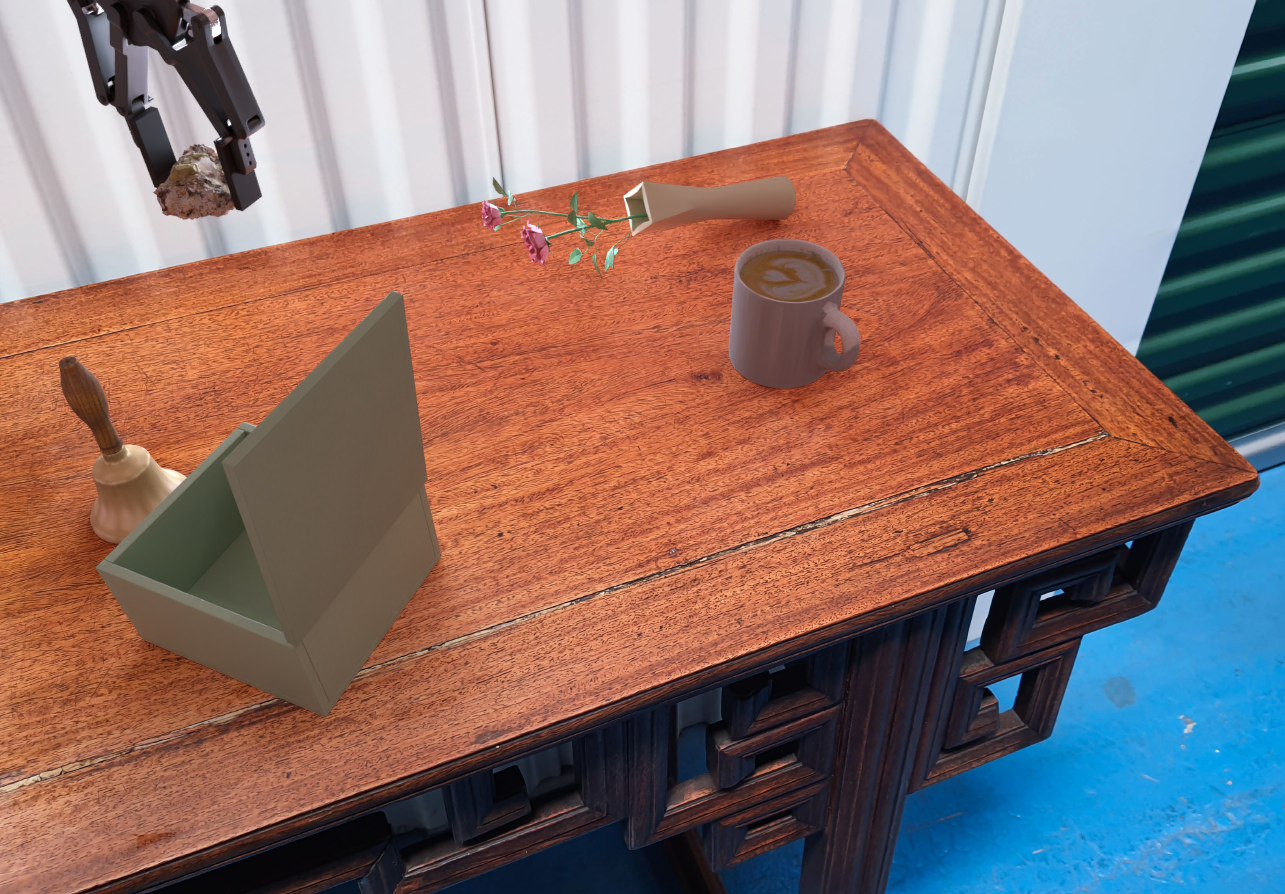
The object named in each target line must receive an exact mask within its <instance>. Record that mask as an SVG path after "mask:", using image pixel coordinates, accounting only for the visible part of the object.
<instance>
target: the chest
mask: <svg viewBox="0 0 1285 894" xmlns="http://www.w3.org/2000/svg"><path fill="white" fill-rule="evenodd" d="M257 426H258V425H255V424H251V423H248V422H245V421H243V422H241V423H240V424H239V425H238V426H237V428H235V429H234V430H233V431H232V432H231V433H230V434H229V435H228V436H227V437H226V438H225V439H224V440H223V441H222V442H221V443H220V444H219V445H218V446H217V447H216V448H215V449H214V450H213V451H212V452H211V453H210V454H209V455H207V457H206V458H205V459H204V460H202V462H201V463H200V464H199V465H197V467H195V468H194V469H193V470H192V472H191V473H190V474H188V475H187V476H186V477H187V478H186V479H185V480H184V481H183V482H182V483H181V484H180V485H179V486H178V487H177V488H176V489H175V490H174V491H173V492H171V493H170V494H169V495H168V496H167V497H166V498H165V499H164V500H163V501H162V502H161V503H160V504H159V505H158V506H157V507H156V508H155V509H154V510H153V511H152V512H151V513H150V514H149V515H148V516H147V517H146V518H145V519H144V520H143V521H142V522H141V523H140V524H139V525H138V526H137V527H136V528H135V529H134V530H133V531H132V532H131V533H130V534H129V535H128V536H127V537H126V538H125V539H124V540H123V541H122V542H121V543H120V544H117V546H115V547H114V549H113V550H112V551H110V553H108V554H107V555H106V556H105V557H104V558H103V560H101V561H100V562H99V563H98V564H97V565H96V566H95V570H96V572H97V573H98V574H99V576H100V578H101V579H102V581H103V582H104V584H105V585H106V587H107V588H108V589H109V591H110V592H111V594H112V596H113V597H114V599H115V600H116V602H117V604H118V605H119V607H120V608H121V609H122V611H123V612H124V614H125V616H126V617H127V618H128V620H129V622H130V624H131V625H132V626H133V628H134V629H135V631H136V632H137V634H138V635H139V636H140V638H141V640H142V641H145V642H148V643H150V644H152V645H155V646H157V647H160V648H161V649H164V650H166V651H168V652H171V653H173V654H176V655H178V656H180V657H183V658H185V659H187V660H189V661H192V662H194V663H197V664H198V665H201V666H204V667H206V668H208V669H211V670H213V671H215V672H217V673H219V674H223V675H225V676H227V677H229V678H232V679H233V680H237V681H239V682H241V683H244V684H245V685H248V686H251V687H253V688H255V689H258V690H259V691H262V692H265V693H266V694H269V695H271V696H274V697H276V698H278V699H281V700H283V701H285V702H288V703H291V704H293V705H295V706H297V707H300V708H302V709H305V710H306V711H309V712H311V713H313V714H316V715H318V716H321V717H322V718H327V717H328V715H329V714H330V712H331V711H332V710H333V709H334V707H335V706H336V704H337V703H338V701H339V700H340V699H341V697H342V696H343V695H344V693H345V691H347V689H348V687H349V686H350V685H351V683H352V682H353V680H354V679H355V678H356V676H357V675H358V674H359V672H360V671H361V669H362V668H363V666H364V665H365V664H366V662H367V661H368V659H369V658H370V657H371V656H372V654H373V653H374V651H375V650H376V648H378V646H379V645H380V643H381V642H382V640H383V639H384V637H385V636H386V634H387V633H388V632H389V630H390V629H391V627H392V626H393V625H394V623H396V621H397V619H398V618H399V617H400V615H401V613H402V612H403V611H404V610H405V608H406V607H407V605H408V604H409V602H410V601H411V600H412V598H413V597H414V596H415V594H416V593H417V591H418V590H419V589H420V587H421V586H422V584H423V583H424V582H425V580H426V579H427V577H428V576H429V575H430V573H431V572H432V571H433V569H434V567H436V565H437V563H438V562H439V561H440V560H441V558H442V551H441V547H440V543H439V538H438V535H437V530H436V527H435V522H434V517H433V513H432V509H431V505H430V502H429V497H428V494H427V489H426V486H425V484H424V485H423V486H422V488H421V489H420V490H419V492H418V493H417V494H416V495H415V497H414V498H413V499H412V501H411V502H410V503H409V504H408V506H407V507H406V508H405V509H404V511H403V512H402V513H401V515H400V516H399V517H398V518H397V520H396V521H395V522H394V523H393V525H392V526H391V527H390V529H389V530H388V531H387V532H386V534H385V535H384V536H383V538H382V539H381V540H380V541H379V543H378V544H377V545H376V546H375V548H374V549H373V550H372V552H371V553H370V554H369V555H368V557H367V558H366V559H365V561H364V562H363V563H362V564H361V566H360V567H359V568H358V569H357V571H356V572H355V573H354V575H353V576H352V577H351V578H350V580H349V581H348V582H347V583H346V585H345V586H344V587H343V589H342V590H341V591H340V592H339V594H338V595H337V596H336V598H335V599H334V600H333V601H332V603H331V604H330V605H329V606H328V608H327V609H326V610H325V612H324V613H323V614H322V615H321V617H320V618H319V619H318V621H317V622H316V623H315V624H314V626H313V627H312V628H311V629H310V631H309V632H308V633H307V635H306V636H305V637H304V638H303V640H302V641H301V642H300V643H299V645H298V646H297V647H296V646H294V645H292V644H289V643H287V642H286V639H285V636H284V633H283V630H282V628H281V625H280V622H279V619H278V617H277V614H276V611H275V608H274V606H273V603H272V600H271V597H270V595H269V592H268V589H267V586H266V584H265V581H264V578H263V575H262V572H261V570H260V567H259V564H258V561H257V559H256V556H255V553H254V550H253V548H252V545H251V542H250V539H249V537H248V534H247V531H246V528H245V526H244V523H243V520H242V517H241V514H240V512H239V509H238V506H237V503H236V501H235V498H234V495H233V492H232V490H231V487H230V484H229V481H228V479H227V476H226V473H225V470H224V468H223V465H222V461H223V460H224V459H225V458H226V457H227V456H228V455H229V454H230V453H231V452H232V451H233V450H234V449H235V448H236V447H237V446H238V445H239V444H240V443H241V442H242V441H243V440H244V439H245V438H246V437H247V436H248V435H249V434H250V433H251V432H252V431H253V430H254V429H255V428H256V427H257Z"/></svg>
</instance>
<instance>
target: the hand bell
mask: <svg viewBox="0 0 1285 894" xmlns="http://www.w3.org/2000/svg"><path fill="white" fill-rule="evenodd" d="M58 368H59V376H60V387H61V392H62V394H63V397H64V398H65V401H66V402H67V404H68V406H69V407H70V408H71V410H72V412H73V414H75V415H76V416H77V418H78V419H80V420H81V421H82V422H83V423H85V424H86V425H87V427H88V428H89V429H90V431H91V433H92V434H93V437H94V440H95V441H96V444H97V445H98V448H99V451H100V452H101V453H100V455H99V456H98V457H97V458H96V459H95V461H94V462H93V464H92V467H91V476H92V479H93V482H94V485H95V487H96V491H97V497H96V498H95V499H94V502H93V504H92V506H91V510H90V518H89V521H90V526H91V527H90V528H92V531H93V532H94V534H95V535H96V536H97V537H98V538H100V539H101V540H103V541H105V542H107V543H110V544H115V545H119V544H120V543H121V542H122V541H123V540H124V539H125V538H126V537H127V536H128V535H129V534H130V533H131V532H132V531H133V530H134V529H135V528H136V527H137V526H138V525H139V524H140V523H141V522H142V521H143V520H144V519H145V518H146V517H147V516H148V515H149V514H150V513H151V512H152V511H153V510H154V509H155V508H156V507H157V506H158V505H159V504H160V503H161V502H162V501H163V500H164V499H165V498H166V497H167V496H168V495H169V494H170V493H171V492H173V491H174V490H175V489H176V488H177V487H178V486H179V485H180V484H181V483H182V482H183V481H184V480H185V479H186V478H187V477H188V476H186V475H184V474H182V473H180V472H178V471H176V470H173V469H170V468H163V467H162V466H161V465H160V464H158V463H157V462H156V460H155V459H154V457H152V455H151V454H150V452H149V451H148V450H147V449H146V448H144V447H143V446H141V445H136V444H124V441H123V440H122V438H121V437H120V434H119V432H118V431H117V429H116V428H115V425H113V423H112V420H111V416H110V408H109V407H110V406H109V402H108V398H107V394H106V392H105V390H104V388H103V385H102V384H101V382H100V381H99V379H98V378H97V377H96V376H95V374H94V373H93V372H91V371H90V369H88V368H87V367H86V366H85V365H83V364H82V362H80V360H79V359H78V358H77V357H76V356H72V355H69V356H65V357H63V358H61V359H60V360H59V362H58Z"/></svg>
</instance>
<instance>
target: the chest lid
mask: <svg viewBox="0 0 1285 894" xmlns="http://www.w3.org/2000/svg"><path fill="white" fill-rule="evenodd" d="M404 298H405V297H404V294H403V293H401V292H398V291H395V290H391V291H390V292H389V293H388V294H387V295H386V296H385V297H384V298H383V299H382V300H381V301H380V302H379V303H378V304H377V305H376V306H375V307H374V308H373V309H372V310H371V311H370V312H369V313H368V314H367V315H366V316H365V317H364V318H363V319H362V320H361V321H360V322H359V323H358V324H357V325H356V326H355V327H354V328H353V329H352V330H351V331H350V332H349V333H348V334H347V335H346V336H345V337H344V339H342V340H341V341H340V342H339V343H338V344H337V345H336V346H335V347H334V348H333V349H332V350H331V351H330V352H329V353H328V354H327V355H326V356H325V357H324V358H323V359H322V360H321V361H320V362H319V363H318V364H317V365H316V366H315V367H314V368H313V369H312V370H311V371H310V372H309V373H308V374H307V376H305V377H304V379H302V380H301V382H299V383H298V384H297V385H296V386H295V388H293V389H292V390H291V392H289V394H288V395H286V396H285V397H284V399H282V401H280V402H279V403H278V405H276V407H274V408H273V409H272V411H270V412H269V414H267V416H265V417H264V419H262V421H260V423H258V425H256V426H257V427H256V428H255V429H254V430H253V431H252V432H251V433H250V434H249V435H248V436H247V437H246V438H245V439H244V440H243V441H242V442H241V443H240V444H239V445H238V446H237V447H236V448H235V449H234V450H233V451H232V452H231V453H230V454H229V455H228V456H227V457H226V458H225V459H224V460H223V461H222V465H223V468H224V470H225V473H226V476H227V479H228V481H229V484H230V487H231V490H232V492H233V495H234V498H235V501H236V503H237V506H238V509H239V512H240V514H241V517H242V520H243V523H244V526H245V528H246V531H247V534H248V537H249V539H250V542H251V545H252V548H253V550H254V553H255V556H256V559H257V561H258V564H259V567H260V570H261V572H262V575H263V578H264V581H265V584H266V586H267V589H268V592H269V595H270V597H271V600H272V603H273V606H274V608H275V611H276V614H277V617H278V619H279V622H280V625H281V628H282V630H283V633H284V636H285V639H286V642H287V643H289V644H292V645H294V646H296V647H297V646H298V645H299V643H300V642H301V641H302V640H303V638H304V637H305V636H306V635H307V633H308V632H309V631H310V629H311V628H312V627H313V626H314V624H315V623H316V622H317V621H318V619H319V618H320V617H321V615H322V614H323V613H324V612H325V610H326V609H327V608H328V606H329V605H330V604H331V603H332V601H333V600H334V599H335V598H336V596H337V595H338V594H339V592H340V591H341V590H342V589H343V587H344V586H345V585H346V583H347V582H348V581H349V580H350V578H351V577H352V576H353V575H354V573H355V572H356V571H357V569H358V568H359V567H360V566H361V564H362V563H363V562H364V561H365V559H366V558H367V557H368V555H369V554H370V553H371V552H372V550H373V549H374V548H375V546H376V545H377V544H378V543H379V541H380V540H381V539H382V538H383V536H384V535H385V534H386V532H387V531H388V530H389V529H390V527H391V526H392V525H393V523H394V522H395V521H396V520H397V518H398V517H399V516H400V515H401V513H402V512H403V511H404V509H405V508H406V507H407V506H408V504H409V503H410V502H411V501H412V499H413V498H414V497H415V495H416V494H417V493H418V492H419V490H420V489H421V488H422V486H423V485H425V484H426V483H427V481H428V472H427V471H428V470H427V463H426V457H425V450H424V449H425V448H424V443H423V442H424V441H423V435H422V426H421V419H420V412H419V411H420V410H419V404H418V403H419V402H418V397H417V390H416V389H417V388H416V380H415V374H414V373H415V372H414V367H413V358H412V353H411V343H410V336H409V329H408V321H407V314H406V306H405V299H404Z"/></svg>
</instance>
